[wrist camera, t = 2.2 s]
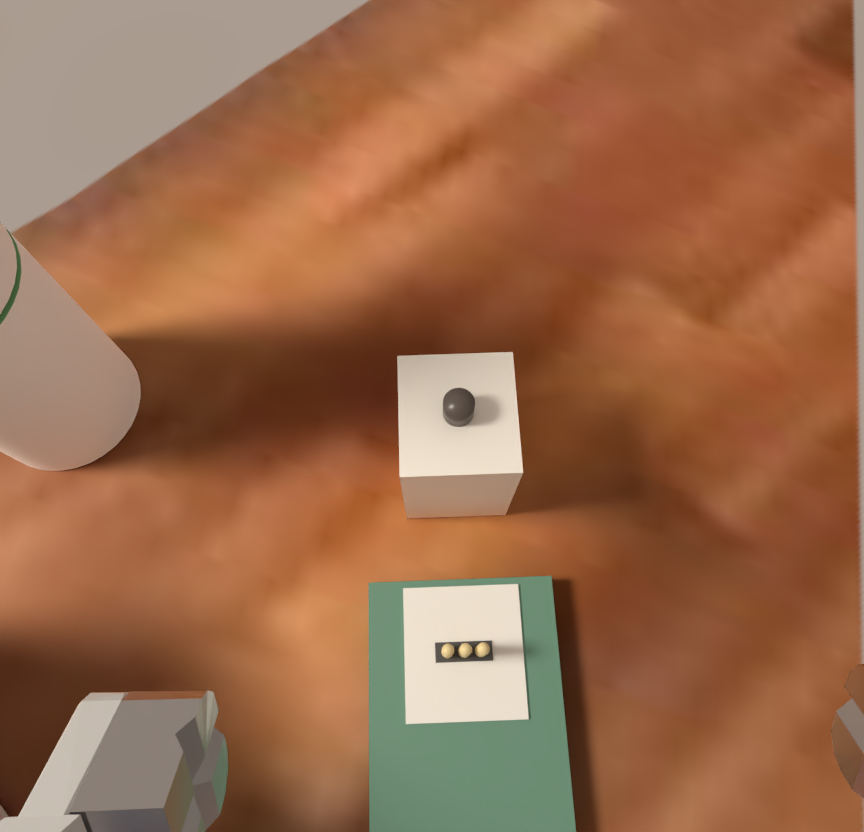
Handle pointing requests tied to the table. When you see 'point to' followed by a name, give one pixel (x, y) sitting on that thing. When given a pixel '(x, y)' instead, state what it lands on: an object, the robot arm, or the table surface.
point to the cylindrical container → (56, 371)
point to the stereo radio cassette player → (2, 813)
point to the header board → (466, 708)
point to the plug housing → (458, 434)
